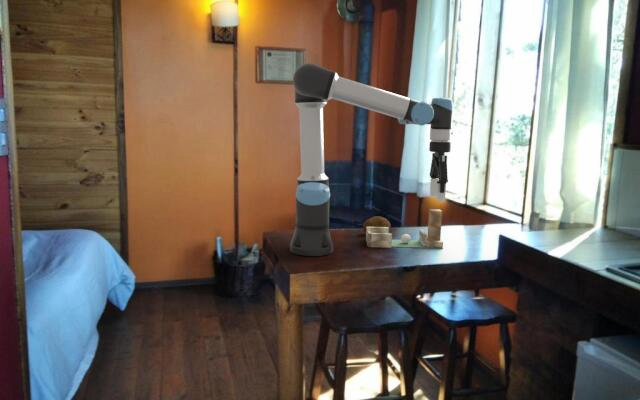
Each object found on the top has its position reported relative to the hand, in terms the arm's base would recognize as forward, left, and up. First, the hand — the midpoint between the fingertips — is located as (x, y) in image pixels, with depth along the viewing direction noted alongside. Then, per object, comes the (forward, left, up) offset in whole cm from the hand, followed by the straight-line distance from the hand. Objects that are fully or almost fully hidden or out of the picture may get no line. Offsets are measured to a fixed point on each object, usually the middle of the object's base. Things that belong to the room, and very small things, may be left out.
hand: (437, 198), depth 192 cm
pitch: (-11, 0, -18) cm, 21 cm away
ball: (-11, 0, -16) cm, 19 cm away
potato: (-21, +14, -18) cm, 31 cm away
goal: (-21, 0, -18) cm, 27 cm away
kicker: (-1, 0, -18) cm, 18 cm away
